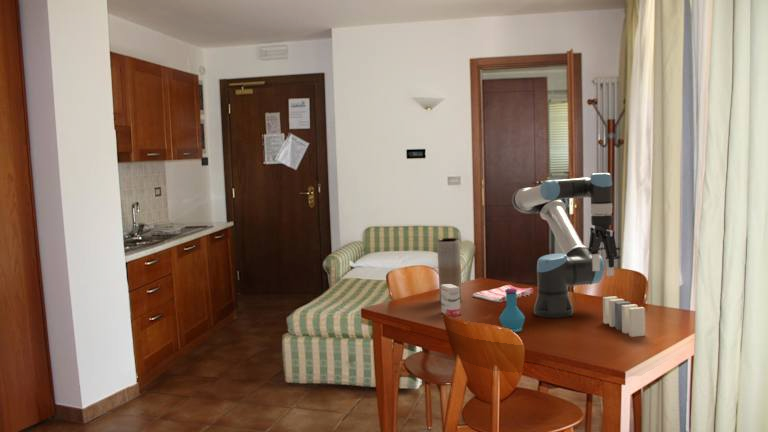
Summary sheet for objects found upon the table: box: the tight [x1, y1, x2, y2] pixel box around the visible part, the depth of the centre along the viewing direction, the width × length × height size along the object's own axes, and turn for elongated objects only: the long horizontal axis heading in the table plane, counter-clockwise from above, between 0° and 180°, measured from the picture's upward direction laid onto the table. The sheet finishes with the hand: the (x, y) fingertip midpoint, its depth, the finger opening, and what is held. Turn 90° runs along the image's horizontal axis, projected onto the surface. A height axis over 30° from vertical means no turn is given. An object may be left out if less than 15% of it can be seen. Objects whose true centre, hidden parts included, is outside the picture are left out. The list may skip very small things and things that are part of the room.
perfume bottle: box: [498, 288, 526, 333], centre depth 238 cm, size 9×9×15 cm
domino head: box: [602, 295, 619, 325], centre depth 240 cm, size 2×5×10 cm, turn 99°
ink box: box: [440, 284, 462, 317], centre depth 266 cm, size 8×5×12 cm, turn 20°
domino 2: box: [615, 301, 632, 331], centre depth 231 cm, size 2×5×10 cm, turn 99°
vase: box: [436, 237, 463, 303], centre depth 287 cm, size 10×10×28 cm
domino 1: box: [609, 298, 625, 328], centre depth 236 cm, size 2×5×10 cm, turn 99°
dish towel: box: [472, 284, 534, 304], centre depth 295 cm, size 17×23×4 cm
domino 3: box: [621, 303, 639, 334], centre depth 227 cm, size 2×5×10 cm, turn 99°
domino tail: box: [628, 306, 646, 338], centre depth 223 cm, size 2×5×10 cm, turn 99°
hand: (602, 273), depth 244 cm, fingers open, 10 cm apart
